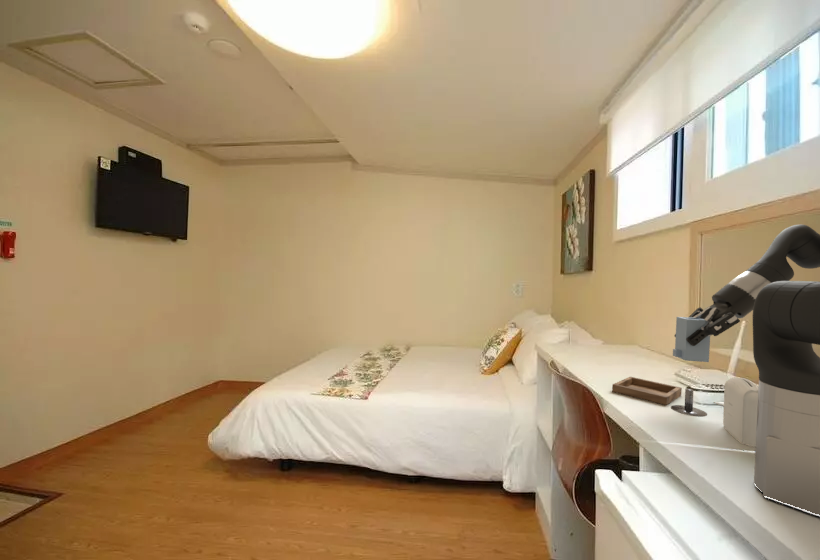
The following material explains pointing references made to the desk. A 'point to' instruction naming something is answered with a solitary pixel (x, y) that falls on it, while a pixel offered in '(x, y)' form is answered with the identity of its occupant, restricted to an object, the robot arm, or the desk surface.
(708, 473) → the desk surface
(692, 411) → the round base metal stand
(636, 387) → the tray
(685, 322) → the blue square pencil cup
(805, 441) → the robot arm
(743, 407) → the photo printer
